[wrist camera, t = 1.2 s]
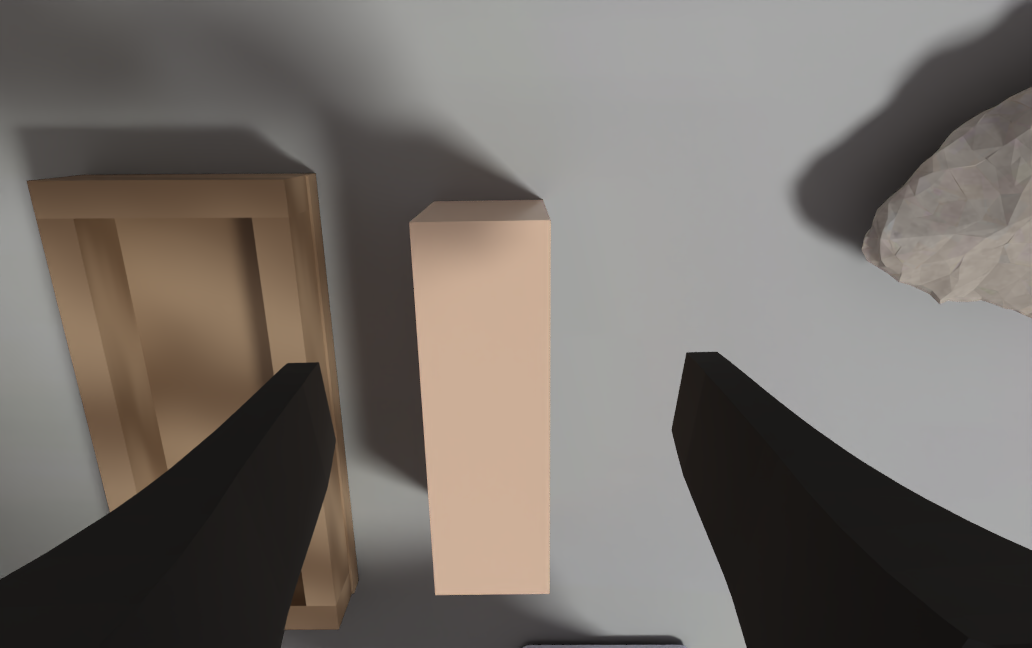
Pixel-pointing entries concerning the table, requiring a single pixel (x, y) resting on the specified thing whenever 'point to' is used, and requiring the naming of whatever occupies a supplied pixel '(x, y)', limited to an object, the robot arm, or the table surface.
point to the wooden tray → (196, 328)
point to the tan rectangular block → (485, 391)
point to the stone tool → (966, 214)
